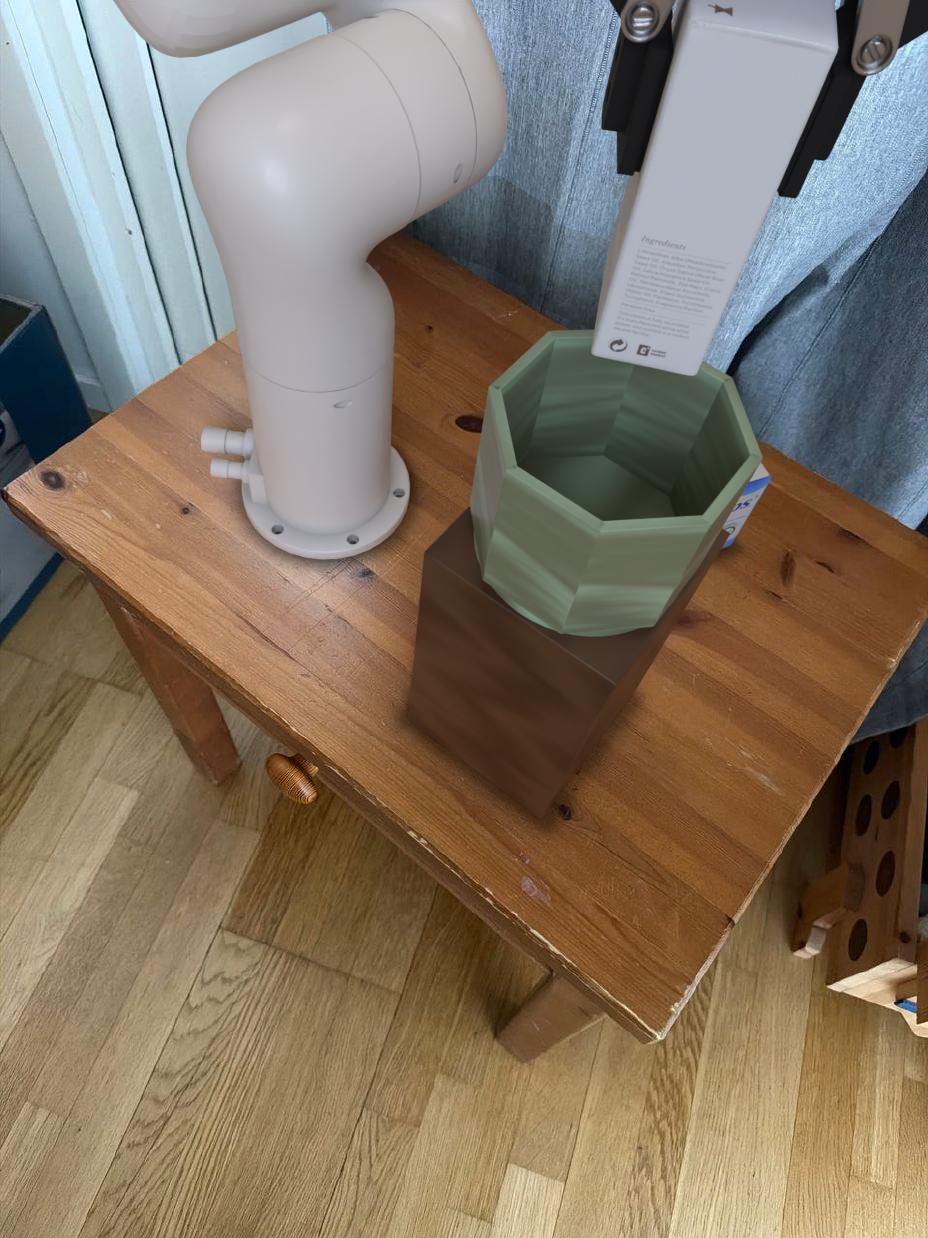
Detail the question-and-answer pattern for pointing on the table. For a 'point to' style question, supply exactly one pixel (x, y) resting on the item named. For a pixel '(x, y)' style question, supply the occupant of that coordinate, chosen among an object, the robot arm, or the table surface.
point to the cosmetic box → (709, 173)
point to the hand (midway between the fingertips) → (705, 155)
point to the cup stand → (571, 556)
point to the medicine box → (746, 503)
